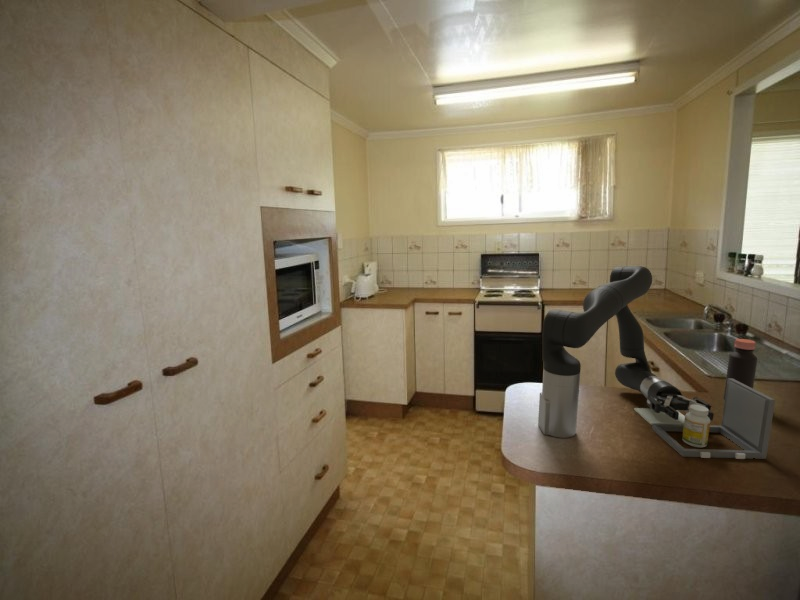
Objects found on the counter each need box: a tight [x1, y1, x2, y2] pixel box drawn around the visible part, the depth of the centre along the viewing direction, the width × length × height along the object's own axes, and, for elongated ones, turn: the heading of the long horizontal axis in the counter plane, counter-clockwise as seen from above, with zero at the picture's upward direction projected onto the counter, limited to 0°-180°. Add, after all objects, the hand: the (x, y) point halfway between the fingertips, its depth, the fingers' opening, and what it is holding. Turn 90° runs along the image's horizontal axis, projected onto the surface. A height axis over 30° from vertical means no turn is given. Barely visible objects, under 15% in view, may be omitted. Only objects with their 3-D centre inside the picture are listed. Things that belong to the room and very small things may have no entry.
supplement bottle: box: [681, 404, 711, 448], centre depth 107 cm, size 5×5×10 cm
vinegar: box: [723, 338, 758, 401], centre depth 131 cm, size 7×7×20 cm
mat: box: [633, 407, 685, 426], centre depth 122 cm, size 12×10×1 cm
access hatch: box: [651, 378, 776, 460], centre depth 107 cm, size 19×15×15 cm
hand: (694, 416), depth 108 cm, fingers open, 8 cm apart
